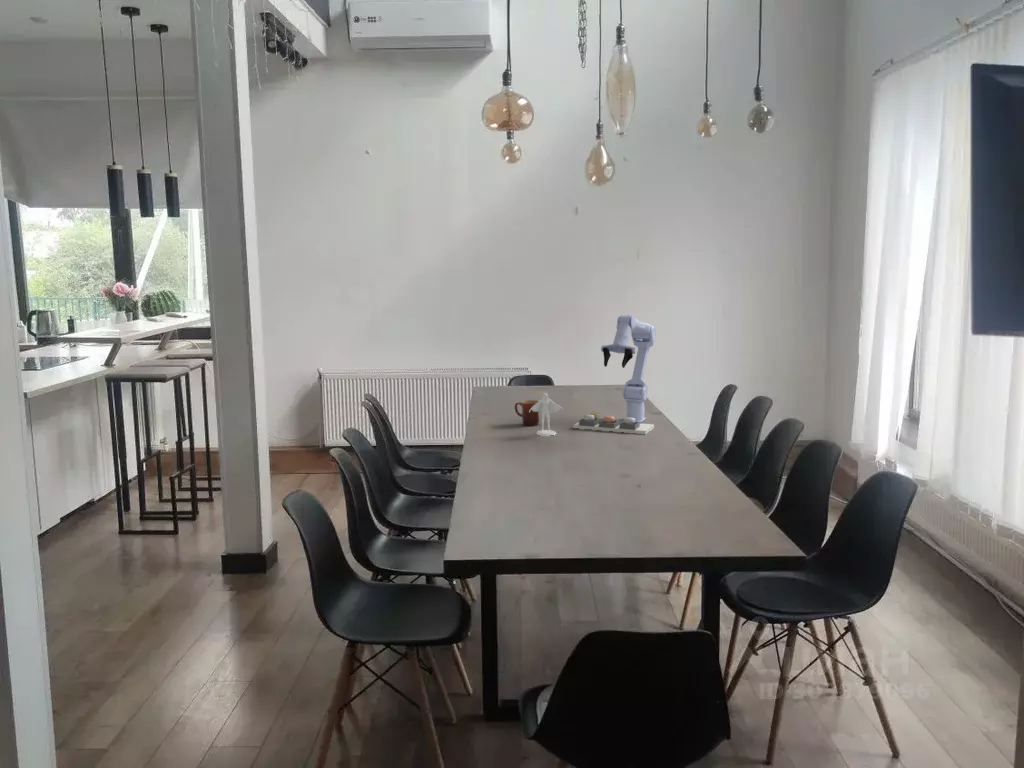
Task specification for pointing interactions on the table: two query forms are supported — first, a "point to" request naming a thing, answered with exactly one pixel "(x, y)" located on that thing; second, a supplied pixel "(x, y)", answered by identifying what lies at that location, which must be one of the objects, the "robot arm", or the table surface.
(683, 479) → the table surface
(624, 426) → the panel
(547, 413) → the figurine
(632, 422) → the grey button
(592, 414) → the brass slider
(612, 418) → the terracotta button
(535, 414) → the mug
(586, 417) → the grey button
